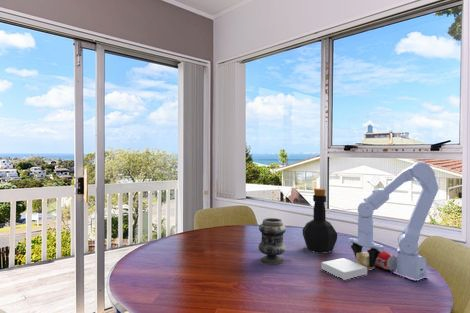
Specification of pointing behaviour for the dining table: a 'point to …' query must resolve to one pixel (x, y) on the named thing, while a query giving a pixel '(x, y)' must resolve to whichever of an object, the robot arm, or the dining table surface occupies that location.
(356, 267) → the plinth
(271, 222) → the apothecary jar
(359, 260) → the ochre cube
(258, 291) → the dining table surface
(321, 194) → the bottle
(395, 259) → the soda can
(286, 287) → the dining table surface
